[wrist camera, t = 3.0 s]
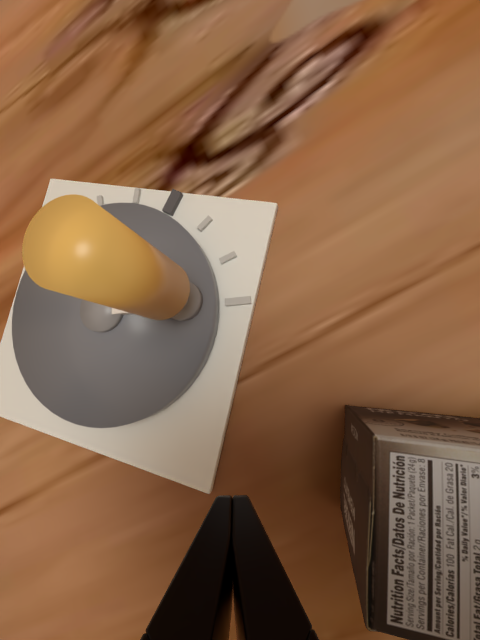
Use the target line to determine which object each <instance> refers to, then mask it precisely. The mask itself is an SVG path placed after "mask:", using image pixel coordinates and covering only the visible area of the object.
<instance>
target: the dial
mask: <svg viewBox="0 0 480 640" xmlns="http://www.w3.org/2000/svg"><path fill="white" fill-rule="evenodd" d="M22 257H23V263H24V267H25V272H24V274H23V276H22V278H21V281H20V284H19V287H18V290H17V293H16V297H15V302H14V306H13V314H12V340H13V348H14V353H15V357H16V361H17V364H18V367H19V370H20V372H21V374H22V376H23V378H24V381H25V383H26V384H27V386H28V387H29V389H30V390H31V392H32V393H33V395H34V396H35V397H36V398H37V399H38V400H39V401H40V403H41V404H42V405H44V406H45V407H46V408H47V409H48V410H50V411H51V412H52V413H54V414H55V415H57V416H59V417H60V418H62V419H64V420H66V421H69V422H71V423H74V424H76V425H81V426H85V427H91V428H112V427H119V426H123V425H127V424H131V423H134V422H137V421H140V420H143V419H145V418H148V417H150V416H153V415H155V414H157V413H159V412H160V411H162V410H164V409H166V408H167V407H169V406H170V405H171V404H172V403H174V402H175V401H176V400H178V399H179V398H180V397H181V396H182V395H183V394H184V393H185V392H186V391H187V390H188V389H189V388H190V386H191V385H192V384H193V383H194V381H195V380H196V379H197V377H198V376H199V374H200V373H201V371H202V369H203V367H204V366H205V364H206V362H207V360H208V358H209V355H210V353H211V350H212V348H213V345H214V341H215V338H216V334H217V329H218V322H219V293H218V286H217V282H216V278H215V274H214V271H213V269H212V266H211V264H210V261H209V260H208V258H207V256H206V254H205V252H204V251H203V249H202V248H201V247H200V245H199V244H198V243H197V241H196V240H195V239H194V238H193V237H192V236H191V235H190V233H189V232H188V231H187V230H186V229H185V228H184V227H183V226H182V225H180V224H179V223H178V222H177V221H176V220H174V219H173V218H172V217H170V216H169V215H167V214H165V213H163V212H161V211H159V210H157V209H155V208H152V207H149V206H146V205H141V204H135V203H111V204H105V205H101V206H99V205H98V204H97V203H95V202H94V201H93V200H91V199H89V198H87V197H85V196H82V195H77V194H70V195H64V196H60V197H58V198H55V199H53V200H52V201H50V202H48V203H47V204H46V205H44V206H43V207H42V208H41V209H40V210H39V211H38V212H37V213H36V215H35V216H34V217H33V219H32V220H31V222H30V224H29V226H28V228H27V230H26V233H25V236H24V240H23V246H22Z"/></svg>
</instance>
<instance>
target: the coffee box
mask: <svg viewBox="0 0 480 640" xmlns="http://www.w3.org/2000/svg"><path fill="white" fill-rule="evenodd" d="M340 502H341V511H342V516H343V521H344V527H345V532H346V536H347V540H348V546H349V552H350V556H351V561H352V566H353V571H354V575H355V580H356V584H357V589H358V594H359V598H360V603H361V608H362V613H363V617H364V622H365V626H366V628H367V629H368V630H369V631H378V632H383V633H386V634H390V635H394V636H397V637H401V638H405V639H409V640H480V418H471V417H460V416H449V415H439V414H429V413H419V412H409V411H399V410H389V409H377V408H366V407H356V406H349V405H345V435H344V439H343V449H342V460H341V487H340Z"/></svg>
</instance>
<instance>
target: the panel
mask: <svg viewBox="0 0 480 640" xmlns="http://www.w3.org/2000/svg"><path fill="white" fill-rule="evenodd" d="M70 194H77V195H82V196H85V197H87V198H89V199H91V200H93V201H94V202H95V203H97V204H98V205H99V206H101V205H105V204H111V203H135V204H141V205H146V206H149V207H152V208H155V209H157V210H159V211H161V212H163V213H165V214H167V215H169V216H170V217H172V218H173V219H174V220H176V221H177V222H178V223H179V224H180V225H182V226H183V227H184V228H185V229H186V230H187V231H188V232H189V233H190V235H191V236H192V237H193V238H194V239H195V240H196V241H197V243H198V244H199V245H200V247H201V248H202V249H203V251H204V252H205V254H206V256H207V258H208V260H209V261H210V264H211V266H212V269H213V271H214V274H215V278H216V282H217V286H218V293H219V322H218V329H217V334H216V338H215V341H214V345H213V348H212V350H211V353H210V355H209V358H208V360H207V362H206V364H205V366H204V367H203V369H202V371H201V373H200V374H199V376H198V377H197V379H196V380H195V381H194V383H193V384H192V385H191V386H190V388H189V389H188V390H187V391H186V392H185V393H184V394H183V395H182V396H181V397H180V398H179V399H178V400H176V401H175V402H174V403H172V404H171V405H170V406H169V407H167V408H166V409H164V410H162V411H160V412H159V413H157V414H155V415H153V416H150V417H148V418H145V419H143V420H140V421H137V422H134V423H131V424H127V425H123V426H119V427H112V428H91V427H85V426H81V425H76V424H74V423H71V422H69V421H66V420H64V419H62V418H60V417H59V416H57V415H55V414H54V413H52V412H51V411H50V410H48V409H47V408H46V407H45V406H44V405H42V404H41V403H40V401H39V400H38V399H37V398H36V397H35V396H34V395H33V393H32V392H31V390H30V389H29V387H28V386H27V384H26V383H25V381H24V378H23V376H22V374H21V372H20V370H19V367H18V364H17V361H16V357H15V353H14V348H13V340H12V314H13V306H14V302H15V298H14V301H13V304H12V307H11V311H10V314H9V317H8V321H7V324H6V327H5V330H4V334H3V337H2V340H1V343H0V417H3V418H6V419H8V420H11V421H14V422H17V423H19V424H22V425H25V426H27V427H30V428H33V429H35V430H38V431H41V432H43V433H46V434H49V435H51V436H54V437H57V438H59V439H62V440H65V441H68V442H70V443H73V444H76V445H78V446H81V447H84V448H86V449H89V450H92V451H94V452H97V453H100V454H102V455H105V456H108V457H110V458H113V459H116V460H119V461H121V462H124V463H127V464H129V465H132V466H135V467H137V468H140V469H143V470H145V471H148V472H151V473H153V474H156V475H159V476H161V477H164V478H167V479H170V480H172V481H175V482H178V483H180V484H183V485H186V486H188V487H191V488H194V489H196V490H199V491H202V492H204V493H207V494H210V493H211V491H212V489H213V485H214V481H215V476H216V472H217V468H218V463H219V459H220V455H221V451H222V446H223V442H224V438H225V433H226V429H227V425H228V421H229V416H230V412H231V408H232V403H233V399H234V395H235V390H236V386H237V382H238V378H239V373H240V369H241V365H242V360H243V356H244V352H245V347H246V343H247V339H248V335H249V330H250V326H251V322H252V317H253V313H254V309H255V304H256V300H257V296H258V292H259V287H260V283H261V279H262V274H263V270H264V266H265V261H266V257H267V253H268V249H269V244H270V240H271V236H272V231H273V227H274V223H275V218H276V214H277V210H278V205H277V203H271V202H262V201H253V200H243V199H234V198H225V197H216V196H206V195H197V194H188V193H181V192H179V191H176V190H174V189H172V191H171V192H169V191H160V190H151V189H142V188H132V187H123V186H114V185H105V184H96V183H86V182H77V181H68V180H59V179H51V180H50V183H49V186H48V189H47V193H46V196H45V199H44V203H43V206H44V205H46V204H47V203H48V202H50V201H52V200H53V199H55V198H58V197H60V196H64V195H70ZM43 206H42V207H43ZM24 272H25V267H24V268H23V271H22V275H21V278H22V276H23V274H24ZM21 278H20V281H21ZM20 281H19V284H20ZM19 284H18V287H19ZM17 290H18V288H17ZM16 293H17V291H16ZM15 297H16V294H15Z"/></svg>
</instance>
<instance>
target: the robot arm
mask: <svg viewBox="0 0 480 640" xmlns="http://www.w3.org/2000/svg"><path fill="white" fill-rule="evenodd" d="M232 597H233V598H234V611H235V621H236V632H237V640H319V639H318V637H317V635H316V633H315V631H314V630H313V629H312V625H311V623H310V621H309V619H308V617H307V615H306V613H305V611H304V609H303V607H302V605H301V603H300V600H299V598H298V596H297V594H296V592H295V590H294V588H293V586H292V584H291V582H290V580H289V578H288V576H287V574H286V572H285V570H284V568H283V566H282V564H281V562H280V560H279V558H278V556H277V554H276V552H275V550H274V548H273V546H272V544H271V542H270V539H269V537H268V535H267V533H266V531H265V529H264V527H263V525H262V523H261V521H260V519H259V517H258V515H257V513H256V511H255V509H254V507H253V505H252V503H251V501H250V499H249V497H248V496H247V495H235V496H233V499H232V496H230V495H226V496H217V497H216V499H215V501H214V503H213V504H212V506H211V508H210V510H209V512H208V514H207V516H206V518H205V519H204V521H203V523H202V525H201V527H200V529H199V531H198V533H197V534H196V536H195V538H194V540H193V542H192V544H191V546H190V548H189V550H188V551H187V553H186V555H185V557H184V559H183V561H182V563H181V565H180V566H179V568H178V570H177V572H176V574H175V576H174V578H173V580H172V581H171V583H170V585H169V587H168V589H167V591H166V593H165V595H164V596H163V598H162V600H161V602H160V604H159V606H158V608H157V610H156V611H155V613H154V615H153V617H152V619H151V621H150V623H149V625H148V626H147V628H146V633H144V634H143V635H142V637H141V639H140V640H229V630H230V620H231V610H232Z"/></svg>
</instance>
